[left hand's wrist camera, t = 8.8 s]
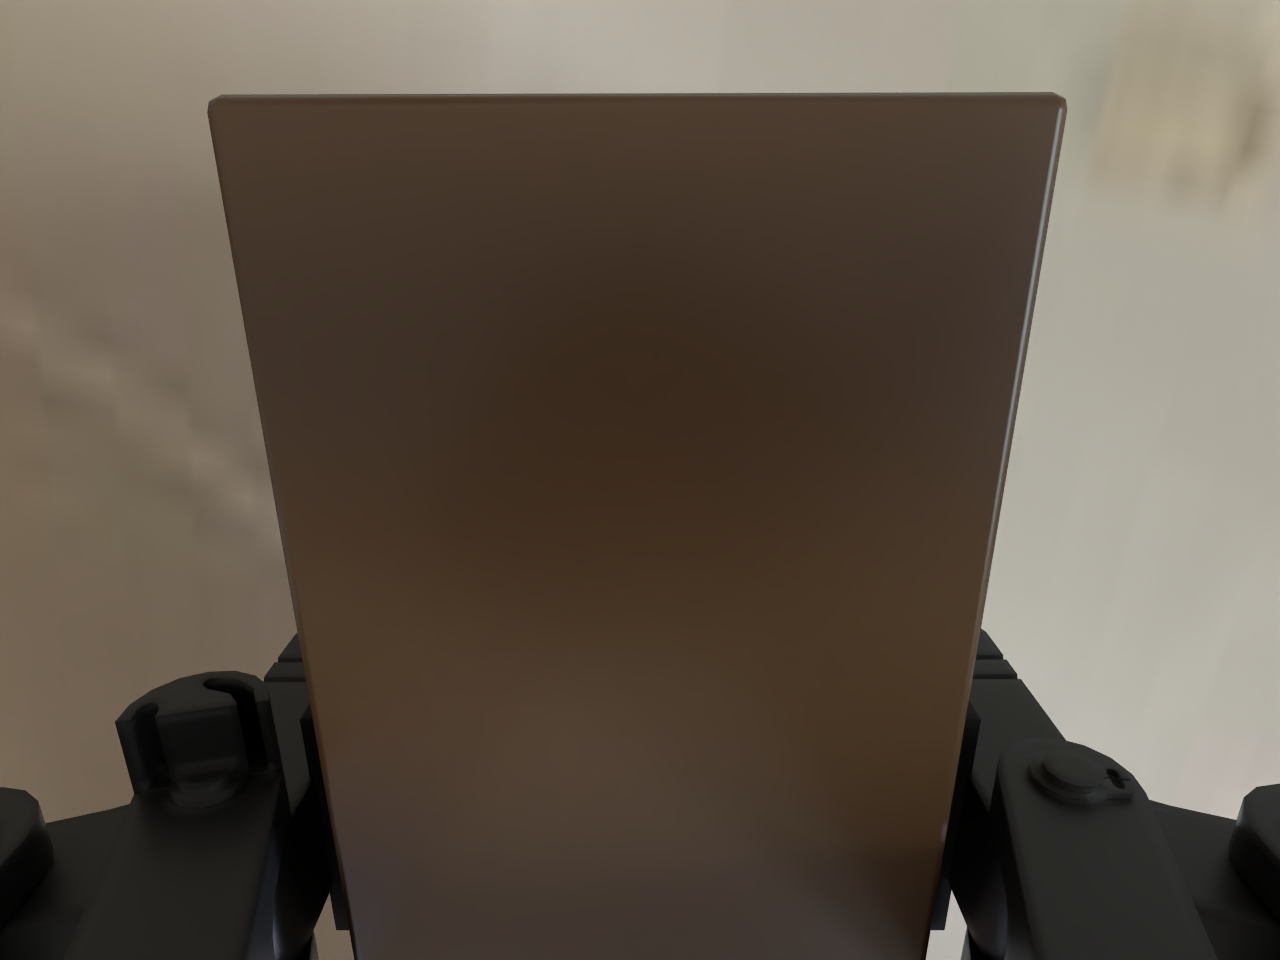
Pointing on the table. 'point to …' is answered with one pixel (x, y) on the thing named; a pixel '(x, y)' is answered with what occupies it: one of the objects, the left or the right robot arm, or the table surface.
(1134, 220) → the table surface
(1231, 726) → the table surface
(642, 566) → the post
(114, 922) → the left robot arm
